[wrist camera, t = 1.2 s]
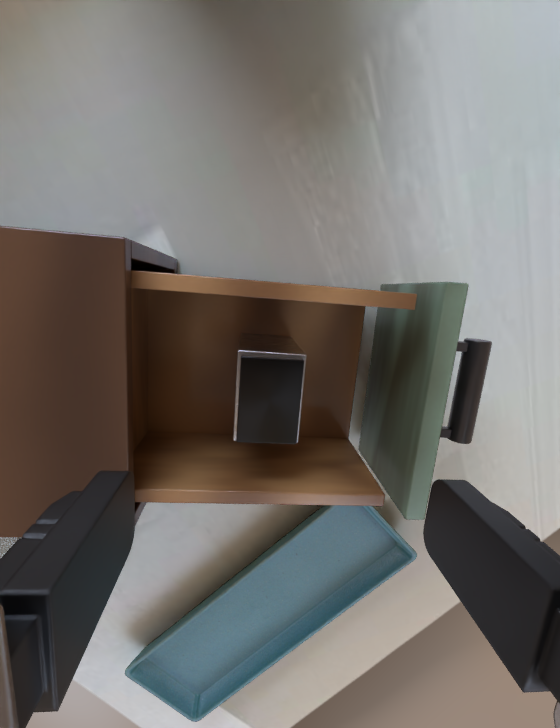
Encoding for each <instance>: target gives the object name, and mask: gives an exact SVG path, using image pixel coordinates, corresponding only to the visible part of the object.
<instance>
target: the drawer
mask: <svg viewBox="0 0 560 728" xmlns="http://www.w3.org/2000/svg"><path fill="white" fill-rule="evenodd" d="M467 291H468V284H467V283H455V282H431V283H405V284H382V285H381V288H380V291H376V290H364V289H351V288H339V287H327V286H315V285H303V284H291V283H279V282H267V281H255V280H243V279H231V278H218V277H206V276H194V275H182V274H170V273H158V272H146V271H134V270H131V305H132V387H133V470H134V483H135V502H165V503H223V504H282V505H341V506H383V504H384V498H385V494H384V492H383V491H382V489H381V488H380V486H379V485H378V483H377V482H376V480H375V479H374V477H373V476H372V474H371V473H370V471H369V469H368V468H367V466H366V465H365V463H364V462H363V460H362V459H361V457H360V456H359V454H358V453H357V451H356V450H355V448H354V447H353V445H352V444H351V442H350V441H349V439H348V437H349V429H350V422H351V414H352V406H353V398H354V391H355V383H356V375H357V367H358V359H359V352H360V344H361V336H362V328H363V321H364V313H365V306H370V307H378V310H377V317H376V325H375V332H374V339H373V347H372V354H371V361H370V369H369V376H368V383H367V391H366V398H365V405H364V413H363V420H362V427H361V435H360V442H359V449H358V450H359V451H360V453H361V454H362V456H363V457H364V459H365V460H366V462H367V463H368V465H369V466H370V468H371V469H372V471H373V472H374V474H375V475H376V477H377V478H378V480H379V481H380V483H381V484H382V486H383V487H384V488H385V490H386V491H387V493H388V494H389V496H390V497H391V499H392V500H393V502H394V503H395V505H396V506H397V508H398V509H399V511H400V512H401V514H402V515H403V517H404V518H405V519H406V520H424V519H425V514H426V508H427V503H428V498H429V492H430V487H431V482H432V476H433V471H434V466H435V461H436V455H437V450H438V445H439V439H440V437H445V438H448V439H449V440H451V441H454V442H457V443H461V444H469V443H471V441H472V436H473V432H474V427H475V422H476V417H477V413H478V408H479V403H480V398H481V393H482V389H483V384H484V379H485V374H486V370H487V365H488V360H489V355H490V350H491V346H492V342H491V341H487V340H481V339H472V338H466V339H464V342H461V341H458V338H459V333H460V328H461V322H462V317H463V312H464V306H465V301H466V296H467ZM241 333H247V334H262V335H277V336H290V337H292V339H293V340H294V341H295V342H296V343H297V344H298V346H299V347H300V348H301V349H302V350H303V351H304V352H305V354H306V355H307V357H306V367H305V378H304V388H303V398H302V409H301V419H300V430H299V440H298V443H296V444H274V443H246V442H236V441H234V440H233V426H234V407H235V388H236V369H237V351H238V346H239V341H240V336H241ZM456 351H461V352H462V354H461V359H460V364H459V370H458V375H457V380H456V385H455V391H454V396H453V401H452V406H451V411H450V417H449V422H448V427H443V426H442V423H443V418H444V413H445V407H446V402H447V397H448V391H449V386H450V381H451V376H452V370H453V365H454V360H455V354H456Z"/></svg>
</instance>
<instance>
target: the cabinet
mask: <svg viewBox="0 0 560 728" xmlns="http://www.w3.org/2000/svg"><path fill="white" fill-rule="evenodd" d="M131 270H134V271H146V272H158V273H170V274H177V259H175V258H173V257H171V256H168V255H166V254H163V253H161V252H158V251H156V250H154V249H151V248H149V247H146V246H144V245H142V244H139V243H137V242H134V241H132V240H129V239H127V238H124V237H115V236H104V235H93V234H83V233H72V232H61V231H50V230H39V229H28V228H17V227H6V226H0V537H23V534H24V533H25V532H26V531H27V530H28V529H29V528H30V526H31V525H32V524H35V523H36V520H37V519H38V518H39V517H40V516H41V515H42V513H43V512H44V511H45V510H46V509H47V508H48V507H49V506H50V505H51V504H52V503H54V502H55V501H57V500H59V499H60V498H62V497H64V496H65V495H67V494H68V493H70V492H72V491H83V489H84V488H85V487H86V486H87V485H88V483H89V482H90V481H91V480H92V479H93V477H94V476H95V475H96V474H97V473H98V472H99V471H101V470H103V471H132V472H133V474H134V470H133V387H132V305H131ZM145 504H146V502H135V525H136V523H137V521H138V519H139V517H140V515H141V513H142V511H143V509H144V507H145Z"/></svg>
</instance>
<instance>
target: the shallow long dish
mask: <svg viewBox="0 0 560 728" xmlns="http://www.w3.org/2000/svg"><path fill="white" fill-rule="evenodd" d="M416 557H417V553H416V551H415V550H414V549H413V548H412V547H411V546H410V545H409V544H408V543H407V542H406V541H405V540H404V539H403V538H402V537H401V536H400V535H399V534H398V533H397V532H396V531H395V530H394V529H393V528H392V527H391V526H390V525H389V523H388V522H387V521H386V520H385V519H384V518H383V517H382V516H381V515H380V514H379V513H378V512H377V511H376V509H375V508H374V507H373V506H341V505H324V506H323V507H321V508H320V509H319V510H318V511H316V512H315V513H314V514H312V515H311V516H310V517H309V518H307V519H306V520H305V521H303V522H302V523H301V524H299V525H298V526H297V527H296V528H294V529H293V530H292V531H291V532H289V533H288V534H287V535H286V536H284V537H283V538H282V539H280V540H279V541H278V542H277V543H275V544H274V545H273V546H272V547H270V548H269V549H268V550H267V551H265V552H264V553H263V554H262V555H260V556H259V557H258V558H257V559H255V560H254V561H253V562H252V563H250V564H249V565H248V566H247V567H245V568H244V569H243V570H242V571H240V572H239V573H238V574H237V575H235V576H234V577H233V578H231V579H230V580H229V581H228V582H226V583H225V584H224V585H223V586H222V587H220V588H219V589H218V590H217V591H215V592H214V593H213V594H212V595H210V596H209V597H208V598H207V599H205V600H204V601H203V602H202V603H200V604H199V605H198V606H197V607H195V608H194V609H193V610H192V611H190V612H189V613H188V614H187V615H185V616H184V617H183V618H182V619H180V620H179V621H178V622H177V623H175V624H174V625H173V626H172V627H170V628H169V629H168V630H167V631H165V632H164V633H163V634H162V635H160V636H159V637H158V638H157V639H155V640H154V641H153V642H152V643H150V644H149V645H148V646H147V647H145V648H144V649H143V650H142V652H141V653H140V654H139V655H138V656H137V657H136V658H135V659H134V660H133V661H132V662H131V664H130V665H129V666H128V667H127V668H126V670H125V675H126V676H127V677H128V678H130V679H131V680H133V681H134V682H136V683H137V684H139V685H140V686H142V687H143V688H145V689H146V690H147V691H149V692H150V693H152V694H153V695H155V696H156V697H158V698H159V699H160V700H162V701H163V702H165V703H166V704H167V705H169V706H171V707H172V708H173V709H175V710H176V711H177V712H179V713H181V714H182V715H183V716H185V717H186V718H187V719H189V720H191V721H194V722H197V721H199V720H201V719H202V718H203V717H205V716H206V715H207V714H209V713H210V712H211V711H213V710H214V709H215V708H217V707H218V706H219V705H221V704H222V703H223V702H225V701H226V700H227V699H229V698H230V697H231V696H232V695H234V694H235V693H236V692H238V691H239V690H240V689H242V688H243V687H244V686H246V685H247V684H248V683H250V682H251V681H252V680H254V679H255V678H256V677H258V676H259V675H260V674H262V673H263V672H264V671H266V670H267V669H268V668H270V667H271V666H272V665H274V664H275V663H276V662H278V661H279V660H280V659H282V658H283V657H284V656H286V655H287V654H288V653H290V652H291V651H292V650H294V649H295V648H296V647H298V646H299V645H300V644H302V643H303V642H304V641H306V640H307V639H308V638H310V637H311V636H313V635H314V634H315V633H316V632H318V631H319V630H320V629H322V628H323V627H324V626H326V625H327V624H329V623H330V622H331V621H332V620H334V619H335V618H337V617H338V616H339V615H341V614H342V613H343V612H345V611H346V610H347V609H349V608H350V607H351V606H353V605H354V604H355V603H357V602H358V601H359V600H361V599H362V598H364V597H365V596H366V595H368V594H369V593H370V592H372V591H373V590H374V589H376V588H377V587H378V586H380V585H381V584H382V583H384V582H385V581H386V580H388V579H389V578H391V577H392V576H393V575H395V574H396V573H397V572H399V571H400V570H401V569H403V568H404V567H405V566H407V565H408V564H410V563H411V562H413V561H414V560H415V559H416Z"/></svg>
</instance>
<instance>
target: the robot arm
mask: <svg viewBox="0 0 560 728" xmlns="http://www.w3.org/2000/svg"><path fill="white" fill-rule="evenodd" d="M134 531H135V483H134V474H133V472H132V471H103V470H101V471H99V472H98V473H97V474H96V475H95V476H94V477H93V479H92V480H91V481H90V482H89V483H88V485H87V486H86V487H85V488H84V489H83V491H72V492H70V493H68V494H67V495H65V496H64V497H62V498H60V499H59V500H57V501H55V502H54V503H52V504H51V505H50V506H49V507H48V508H47V509H46V510H45V511H44V512H43V513H42V515H41V516H40V517H39V518H38V519H37V520H36V523H35V524H32V525H31V526H30V528H29V529H28V530H27V531H26V532H25V533H24V534H23V537H22V539H18V541H17V542H16V543H15V544H14V545H13V546H12V547H11V548H10V549H9V550H8V551H7V552H6V554H5V555H4V556H3V557H2V558H1V559H0V728H26V726H27V724H28V721H29V720H30V718H31V716H32V714H33V712H50V711H51V712H52V711H58V710H59V707H60V705H61V703H62V701H63V699H64V696H65V694H66V692H67V689H68V688H69V685H70V683H71V681H72V679H73V676H74V674H75V672H76V670H77V668H78V665H79V663H80V661H81V659H82V657H83V654H84V652H85V650H86V648H87V646H88V643H89V641H90V639H91V637H92V635H93V632H94V630H95V628H96V626H97V623H98V621H99V619H100V617H101V615H102V612H103V610H104V608H105V606H106V604H107V601H108V599H109V597H110V595H111V593H112V590H113V588H114V586H115V584H116V582H117V579H118V577H119V575H120V573H121V571H122V568H123V566H124V564H125V562H126V559H127V557H128V555H129V553H130V550H131V546H132V543H133V538H134ZM423 534H424V542H425V546H426V549H427V551H428V553H429V555H430V557H431V558H432V560H433V561H434V562H435V564H436V565H437V567H438V568H439V570H440V571H441V573H442V574H443V576H444V577H445V579H446V580H447V582H448V583H449V584H450V586H451V587H452V589H453V590H454V592H455V593H456V595H457V596H458V598H459V599H460V601H461V602H462V603H463V605H464V606H465V608H466V609H467V611H468V612H469V614H470V615H471V617H472V618H473V620H474V621H475V622H476V624H477V625H478V627H479V628H480V630H481V631H482V633H483V634H484V635H485V637H486V639H487V640H488V641H489V643H490V644H491V646H492V647H493V649H494V650H495V652H496V653H497V655H498V656H499V658H500V659H501V660H502V662H503V663H504V665H505V666H506V668H507V669H508V671H509V672H510V674H511V675H512V677H513V678H514V680H515V681H516V683H517V684H518V686H519V687H520V688H521V690H522V691H523V692H543V691H551V693H552V694H553V695H554V697H555V698H556V699H557V703H556V706H555V709H554V724H555V728H560V556H559V555H558V554H557V553H556V552H555V551H553V550H552V549H551V548H550V547H549V546H548V545H547V544H545V543H544V542H541V541H540V538H538V537H537V536H536V535H535V534H534V533H533V532H531V531H530V530H529V529H526V528H525V526H524V525H523V524H522V523H521V522H520V521H519V520H517V519H516V518H515V517H514V516H513V515H511V514H510V513H509V512H508V511H506V510H504V509H503V508H501V507H499V506H497V505H496V504H494V503H492V502H491V501H489V500H488V499H487V498H486V497H485V496H484V495H483V494H481V493H480V492H479V491H478V490H477V489H476V488H475V487H473V486H472V485H471V484H470V483H469V482H467V481H465V480H440V479H439V480H436V481H434V483H433V485H432V487H431V492H430V498H429V503H428V508H427V513H426V519H425V524H424V531H423Z"/></svg>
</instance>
